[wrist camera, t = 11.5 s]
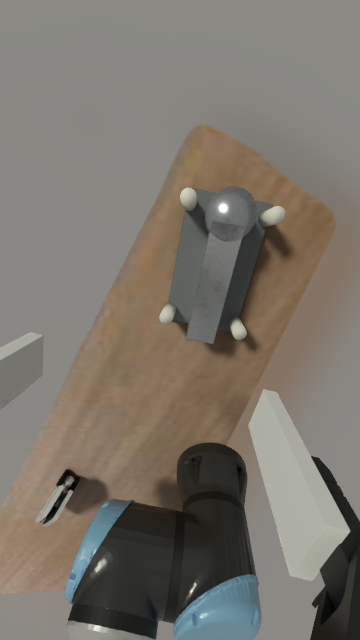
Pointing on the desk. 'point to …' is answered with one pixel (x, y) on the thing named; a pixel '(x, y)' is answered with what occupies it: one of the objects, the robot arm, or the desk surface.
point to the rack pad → (193, 254)
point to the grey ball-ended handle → (219, 258)
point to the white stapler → (58, 499)
